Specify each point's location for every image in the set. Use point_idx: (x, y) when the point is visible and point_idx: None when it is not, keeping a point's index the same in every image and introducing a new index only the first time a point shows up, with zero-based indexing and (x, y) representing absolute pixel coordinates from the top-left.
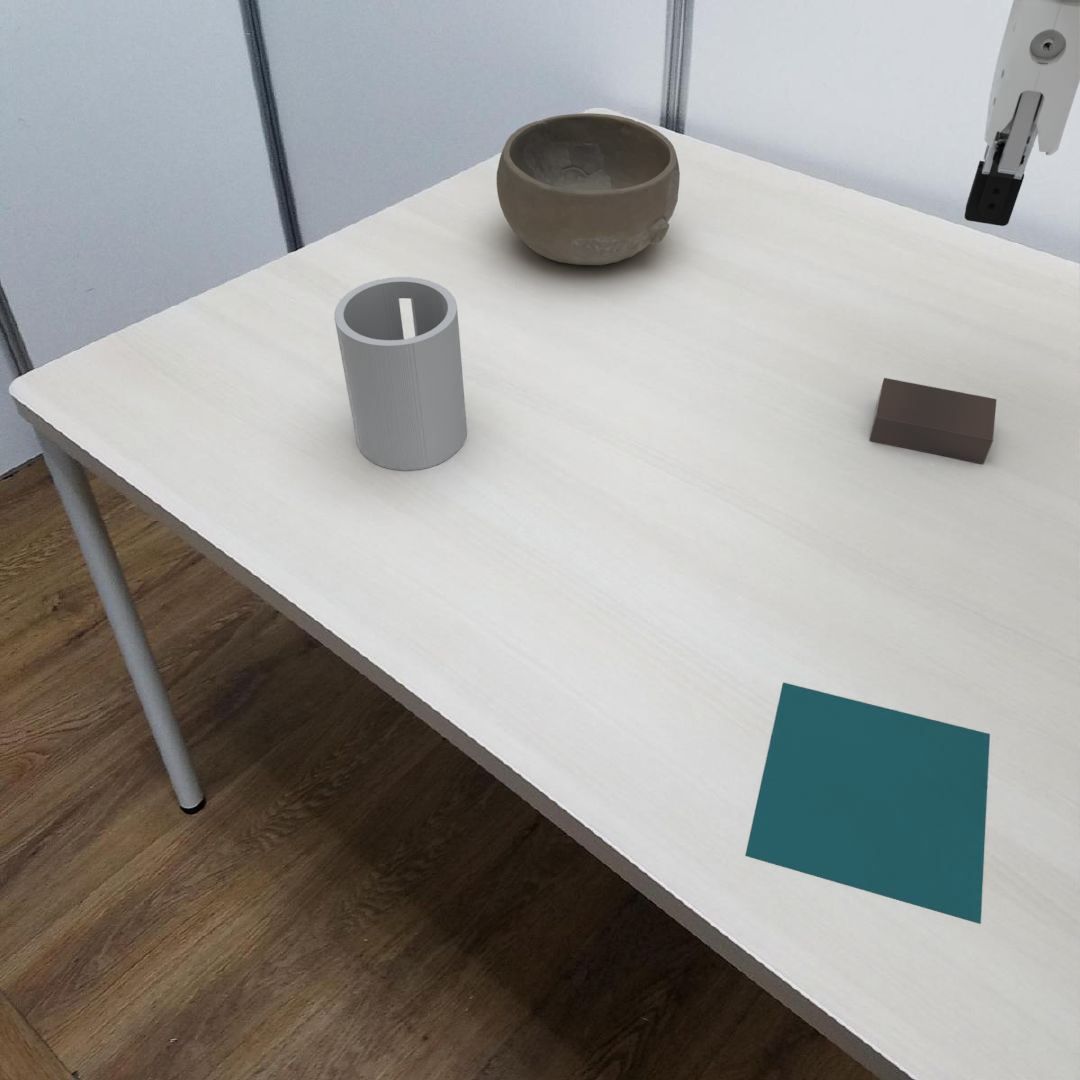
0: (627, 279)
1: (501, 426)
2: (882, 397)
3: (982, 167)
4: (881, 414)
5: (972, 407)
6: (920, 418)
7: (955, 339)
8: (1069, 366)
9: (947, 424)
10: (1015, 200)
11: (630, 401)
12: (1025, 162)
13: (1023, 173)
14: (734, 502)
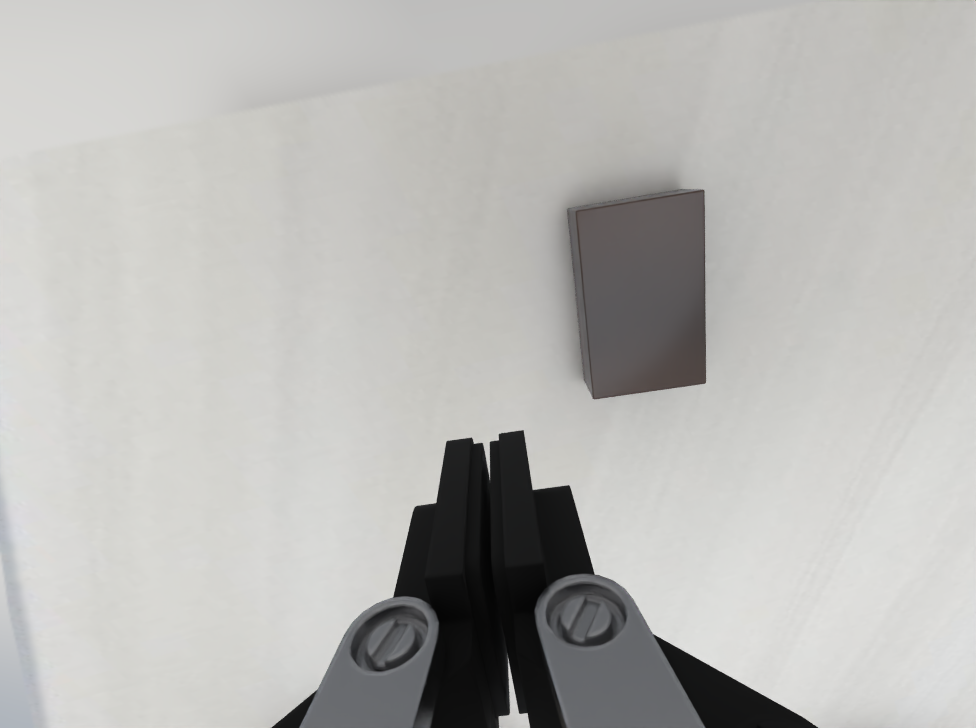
0: None
1: None
2: (650, 387)
3: (506, 714)
4: (696, 377)
5: (619, 246)
6: (684, 319)
7: (352, 313)
8: (320, 100)
9: (686, 274)
10: (528, 483)
11: (711, 638)
12: (678, 691)
13: (461, 559)
14: (875, 479)
